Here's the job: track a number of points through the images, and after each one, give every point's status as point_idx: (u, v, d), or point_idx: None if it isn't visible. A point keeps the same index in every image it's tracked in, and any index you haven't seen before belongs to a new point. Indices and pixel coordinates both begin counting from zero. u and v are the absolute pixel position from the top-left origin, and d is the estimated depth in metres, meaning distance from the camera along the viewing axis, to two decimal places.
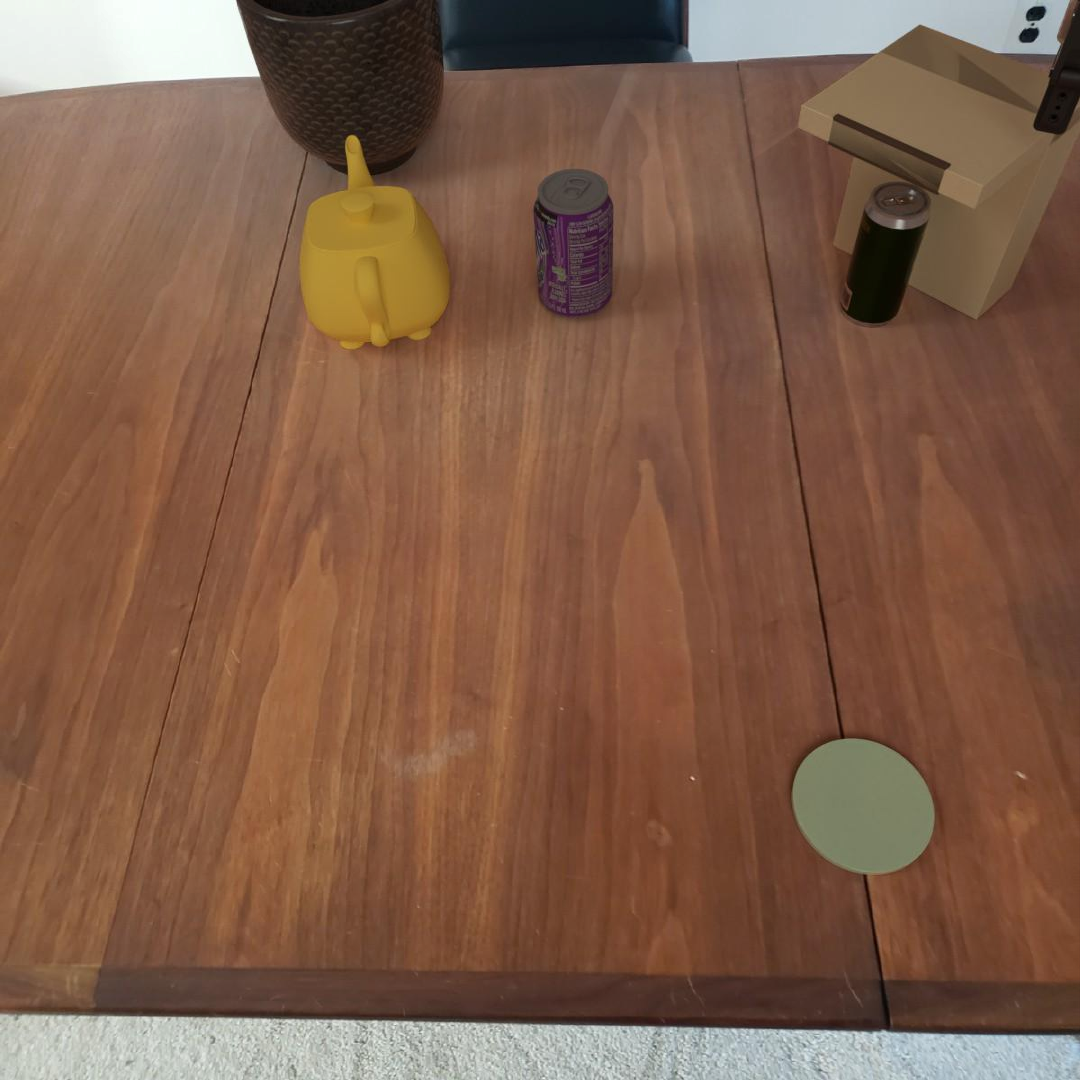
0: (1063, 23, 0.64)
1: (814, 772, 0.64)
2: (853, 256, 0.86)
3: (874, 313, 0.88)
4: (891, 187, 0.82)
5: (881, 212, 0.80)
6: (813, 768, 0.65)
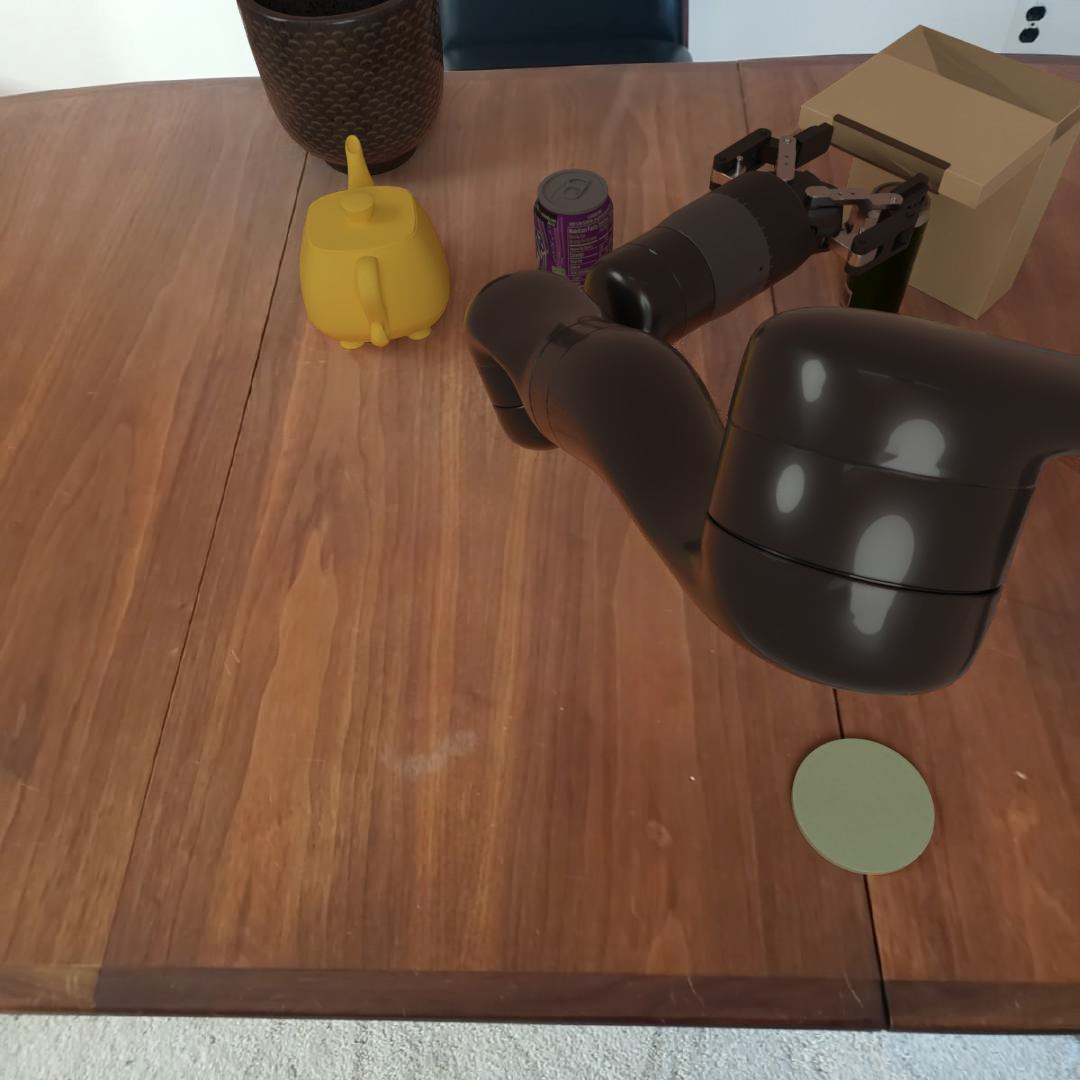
0: None
1: (814, 772, 0.64)
2: None
3: None
4: (891, 187, 0.82)
5: None
6: (813, 768, 0.65)
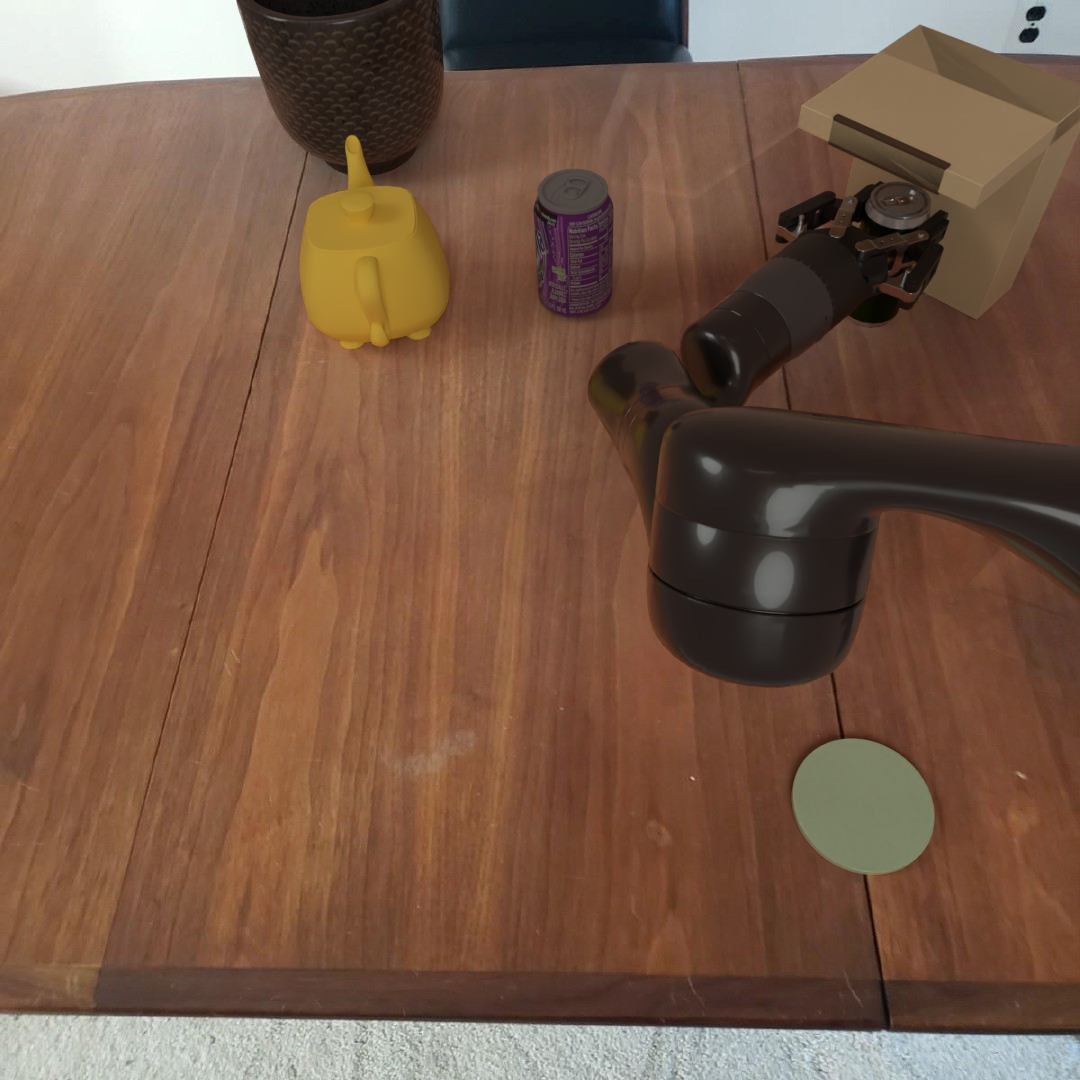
0: (889, 275, 0.81)
1: (814, 772, 0.64)
2: None
3: (874, 313, 0.88)
4: (891, 186, 0.82)
5: (881, 212, 0.80)
6: (813, 768, 0.65)
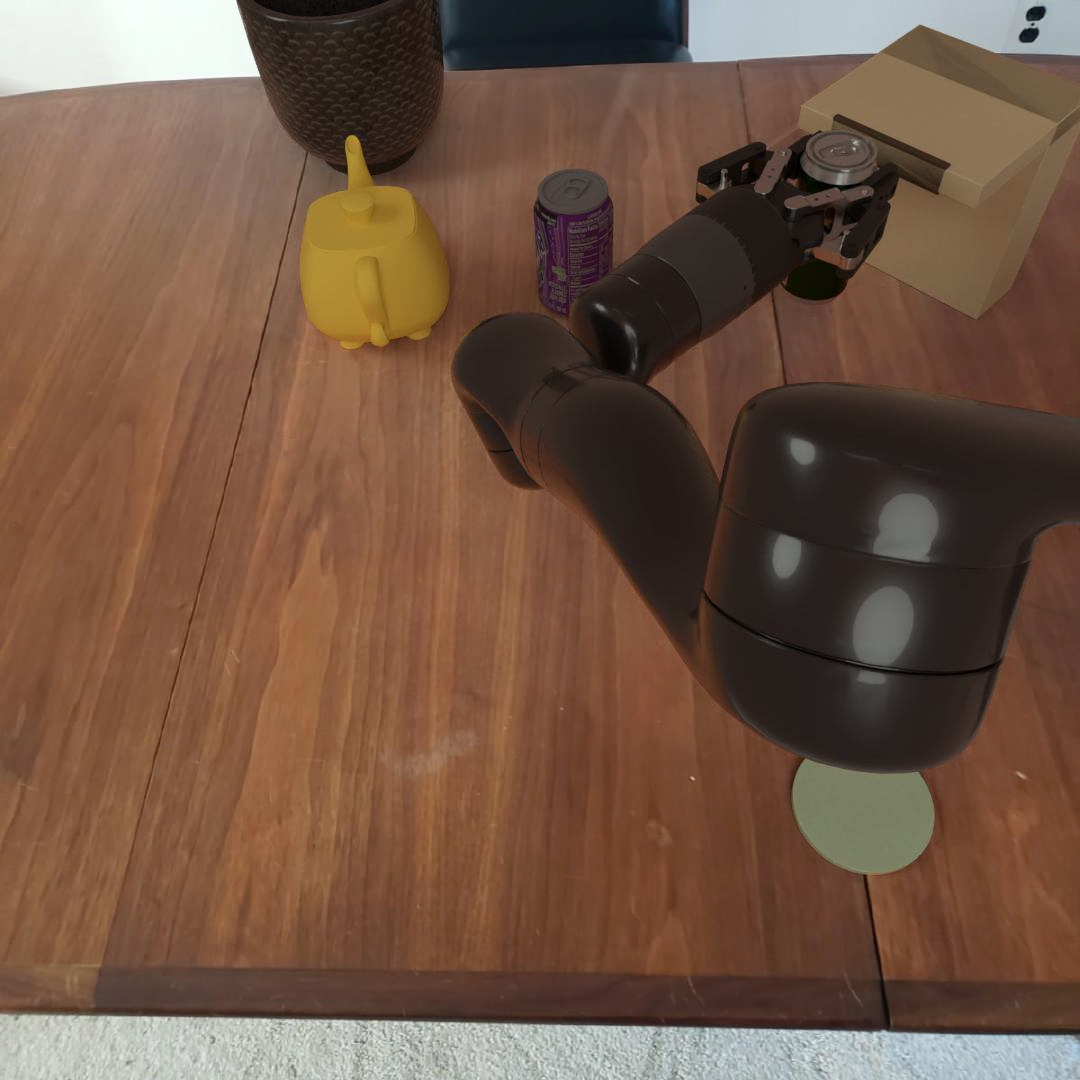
0: (827, 239, 0.68)
1: (814, 772, 0.64)
2: None
3: (816, 288, 0.75)
4: (831, 136, 0.69)
5: (817, 165, 0.67)
6: (813, 768, 0.65)
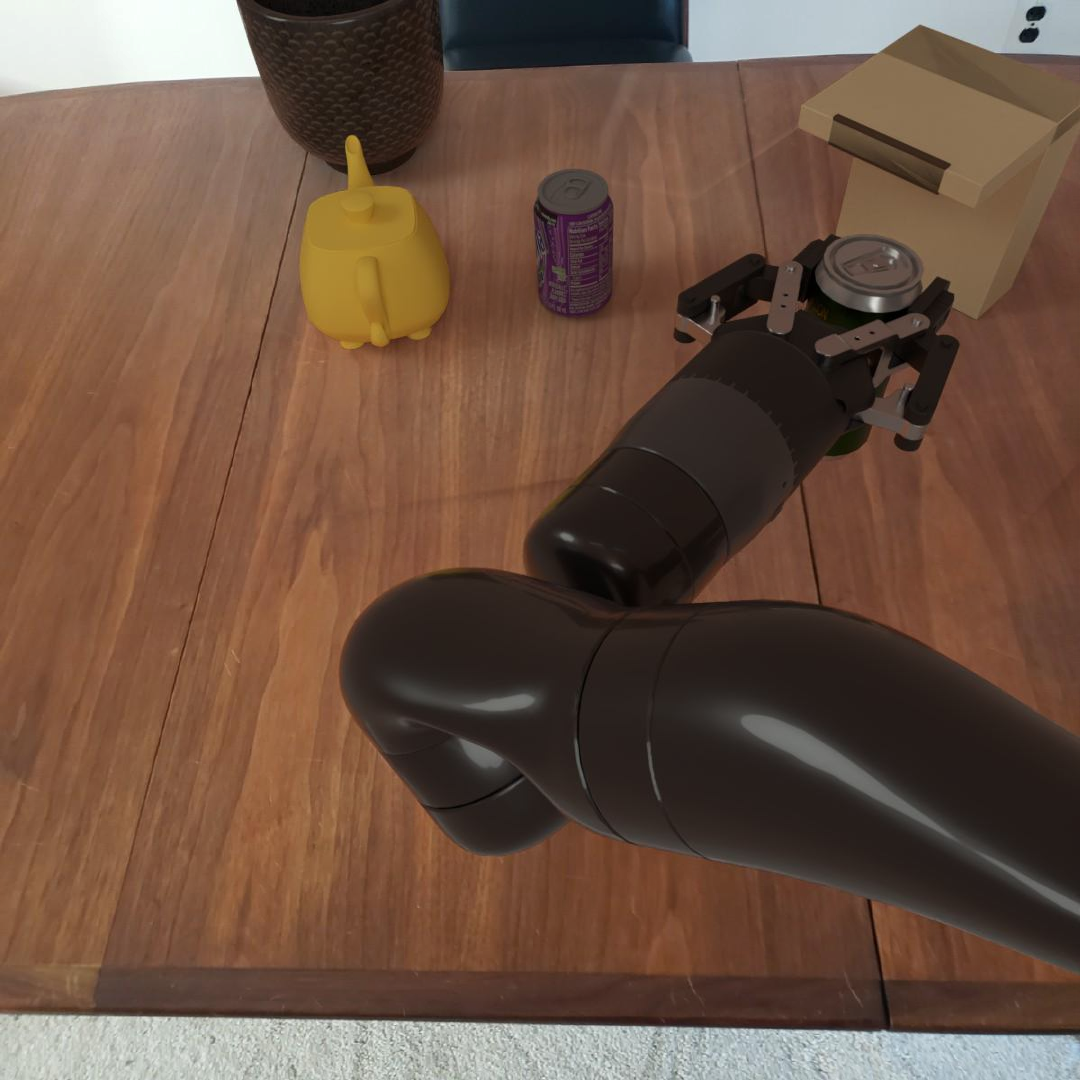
0: None
1: None
2: None
3: (836, 441, 0.55)
4: (855, 243, 0.50)
5: (846, 286, 0.48)
6: None
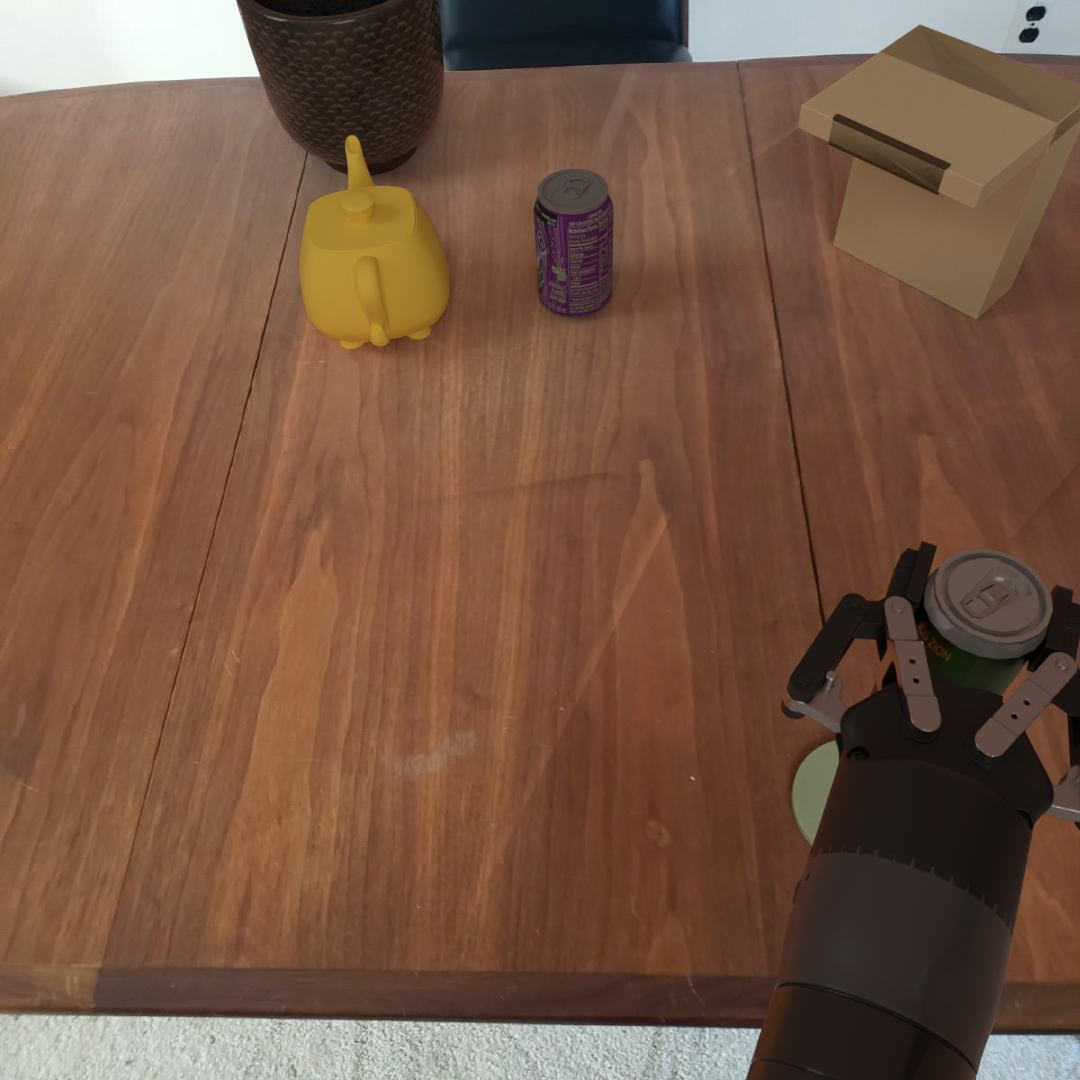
0: None
1: (814, 772, 0.64)
2: None
3: None
4: (962, 566, 0.43)
5: (976, 637, 0.41)
6: (813, 768, 0.65)
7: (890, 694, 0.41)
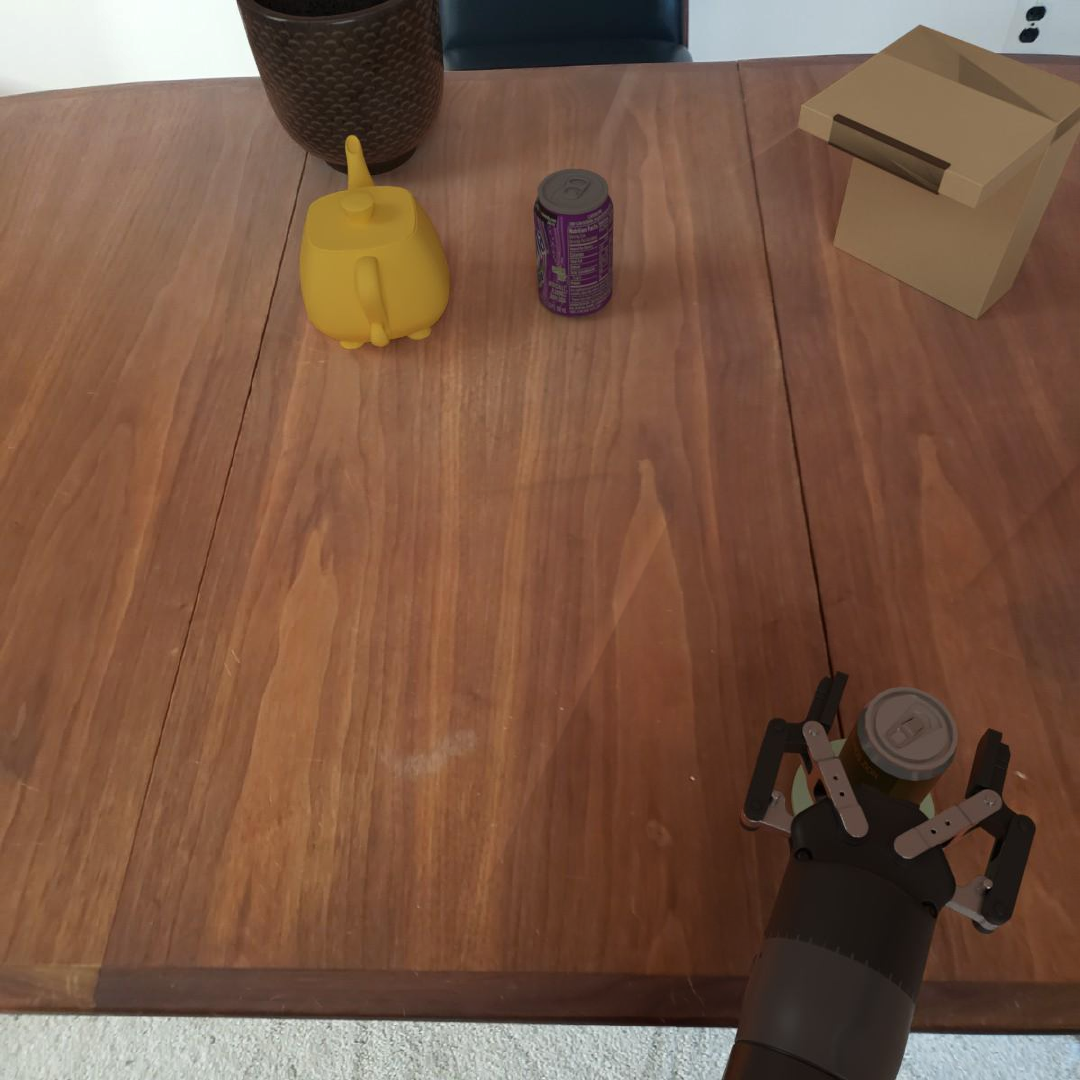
0: None
1: None
2: None
3: None
4: (888, 702, 0.54)
5: (896, 764, 0.52)
6: None
7: (830, 803, 0.51)
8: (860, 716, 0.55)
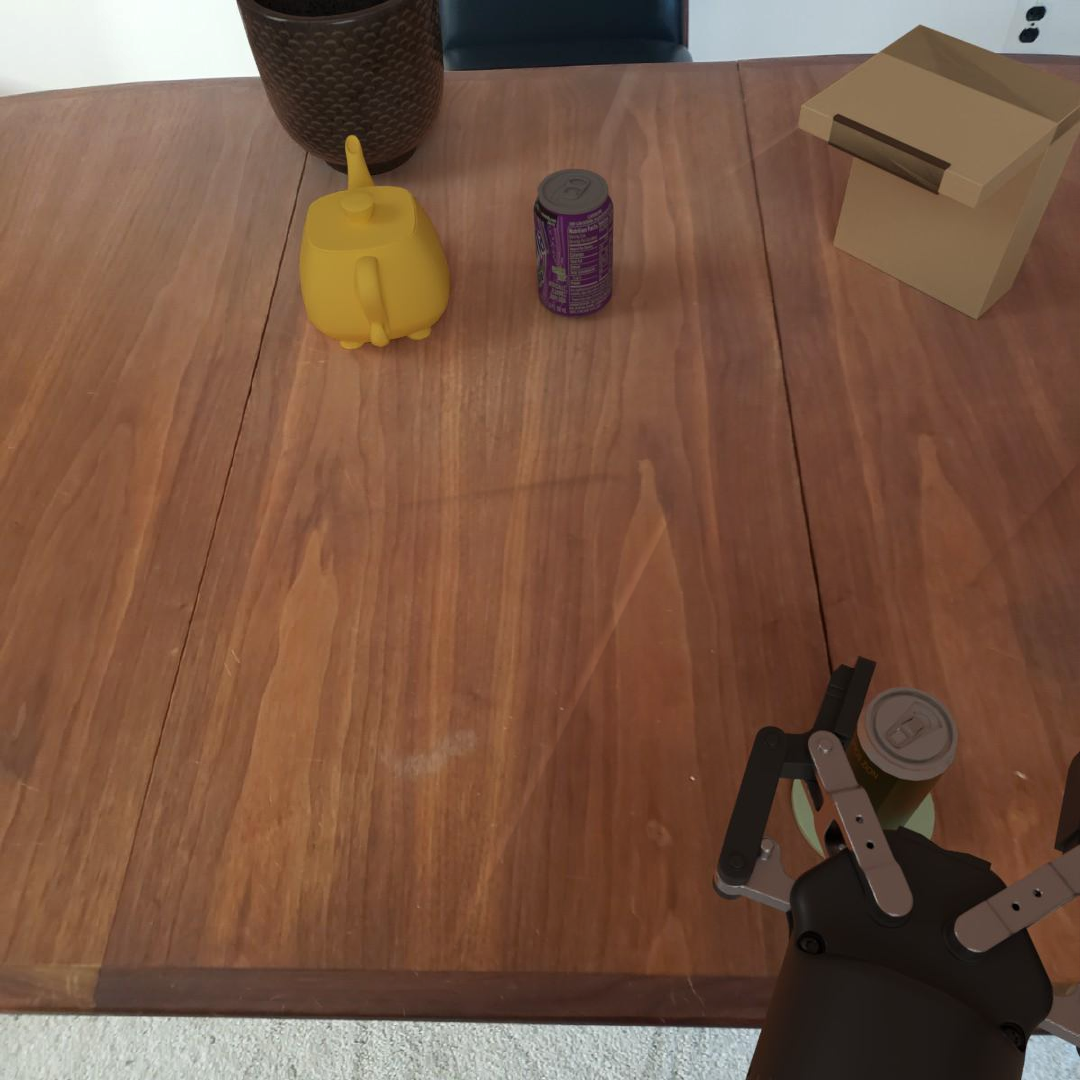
0: None
1: None
2: None
3: None
4: (888, 702, 0.54)
5: (896, 764, 0.52)
6: None
7: (852, 859, 0.33)
8: (860, 716, 0.55)
